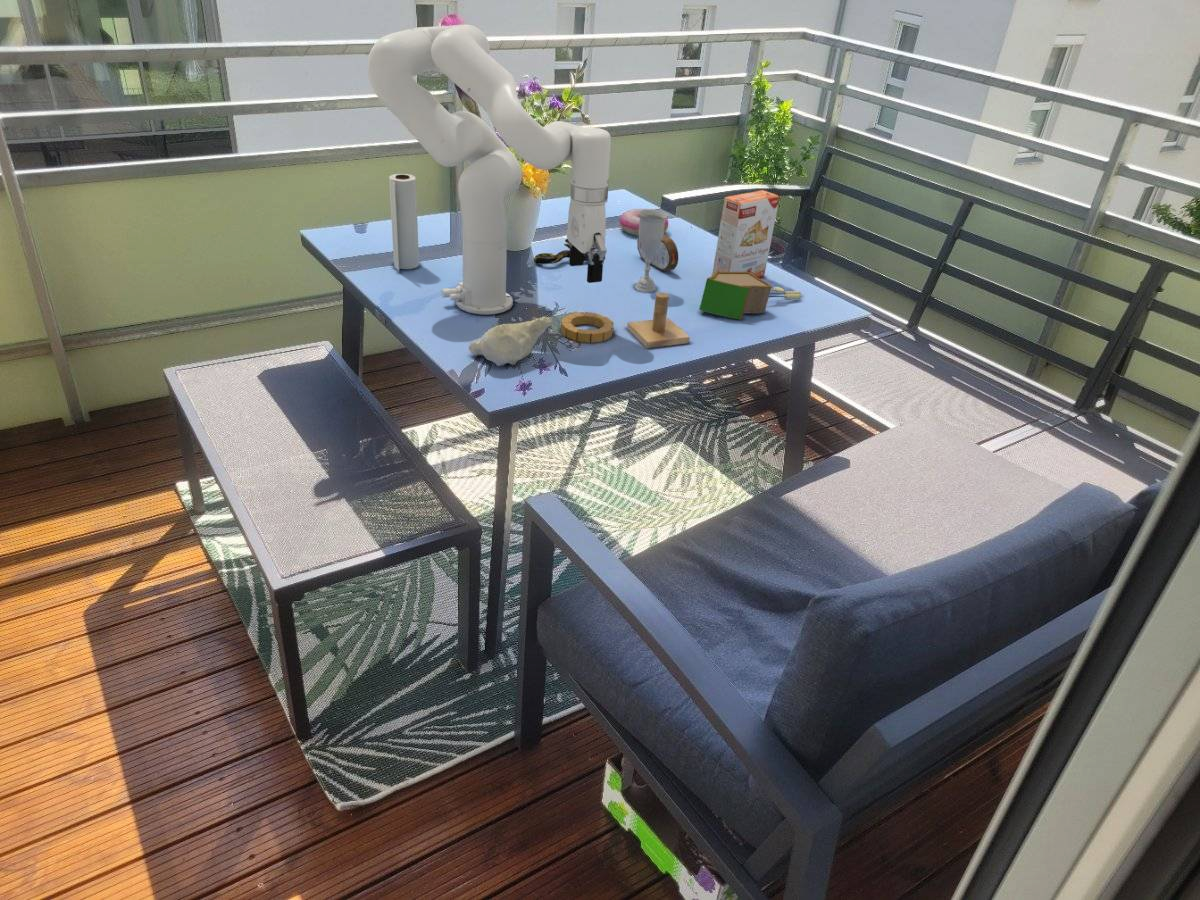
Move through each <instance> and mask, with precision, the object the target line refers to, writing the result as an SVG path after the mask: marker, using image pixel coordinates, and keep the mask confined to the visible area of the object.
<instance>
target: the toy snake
mask: <svg viewBox="0 0 1200 900" xmlns="http://www.w3.org/2000/svg"><path fill="white" fill-rule="evenodd" d="M564 242H565V243H564V244H563V246H565V247H567V248H568V249H564V250H561V251H558V253H556V254H554V253H549V252H542V253H538V254H536V255H535V256H534V257H533V261H534V263H535V264H538V265H548V264H557V263H558V262H561V261H562V260H563V259H566V258H568V259H570V248H572V247H570V245H569V243H570V242H569V241H568V239H567V238H565V240H564ZM591 249H596V248H591ZM597 254H598V253H594V254H593V258H594V257H595V256H596V255H597ZM584 262H589V258H588V253H584Z"/></svg>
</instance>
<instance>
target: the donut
mask: <svg viewBox="0 0 1200 900" xmlns="http://www.w3.org/2000/svg"><path fill="white" fill-rule="evenodd" d="M645 209H646V208H632V209H628V210H626V211H625V212H623V213H621V215H620V217H619V225H620V228H621V229H622V230H623V231H624V232H625V233H627V234H629V235H632V236H635V237H638V234H639V224H640V217H639V214H638V212H639V211H641V210H645ZM668 228H669V221H668V217H667V218H666V220H665V226H664V233H666V231H667V230H668Z"/></svg>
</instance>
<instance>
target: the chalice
mask: <svg viewBox="0 0 1200 900" xmlns="http://www.w3.org/2000/svg"><path fill="white" fill-rule="evenodd" d="M644 209H645V210H641V211H639V212H638V214H639V217H640V224H639V239H640V243H641V246H642V249H643V251H644V252H645V253H647V258H646V260H644V262H645V266H644V267H643V270H644V275H643V276H641V277H640V278H639V279H638V280H637V282H636V284H635V286H634V288H635V290H637V291H639V292H643V293H651V292H655V291H656V289H657V288H656V286H655V285H656V284H655V280H653V278H651V277H650V274H649V273H650V271H651V270H652V268H651V264H650V263H651V258H650V256H651V254H652V253H655V251H656V249H657V248H658V246H659V245H660V243H661V240H662V238H663V234H664V235H665V232H664V226H665V220H666V218H667V219H668V216H669V215H668V213H667V212H665V211H663V210H660V209H655V208H653V209H652V208H644Z"/></svg>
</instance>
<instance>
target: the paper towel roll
mask: <svg viewBox="0 0 1200 900" xmlns="http://www.w3.org/2000/svg"><path fill="white" fill-rule="evenodd" d="M388 180H389V182H388V183H389V198H390V216H391V217H390V219H391V235H392V236H391V237H392V255H393V257H392V258H393V266H394V268H395V270H397V271H398V272H400V270H413V269H416V268H418V267H419V266H420V251H419V250H420V249H419V224H418V201H417V199H418V198H417V197H418V196H417V177H416V176H415V175H413V174H409V173H393V174H391V175H389V176H388Z"/></svg>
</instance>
